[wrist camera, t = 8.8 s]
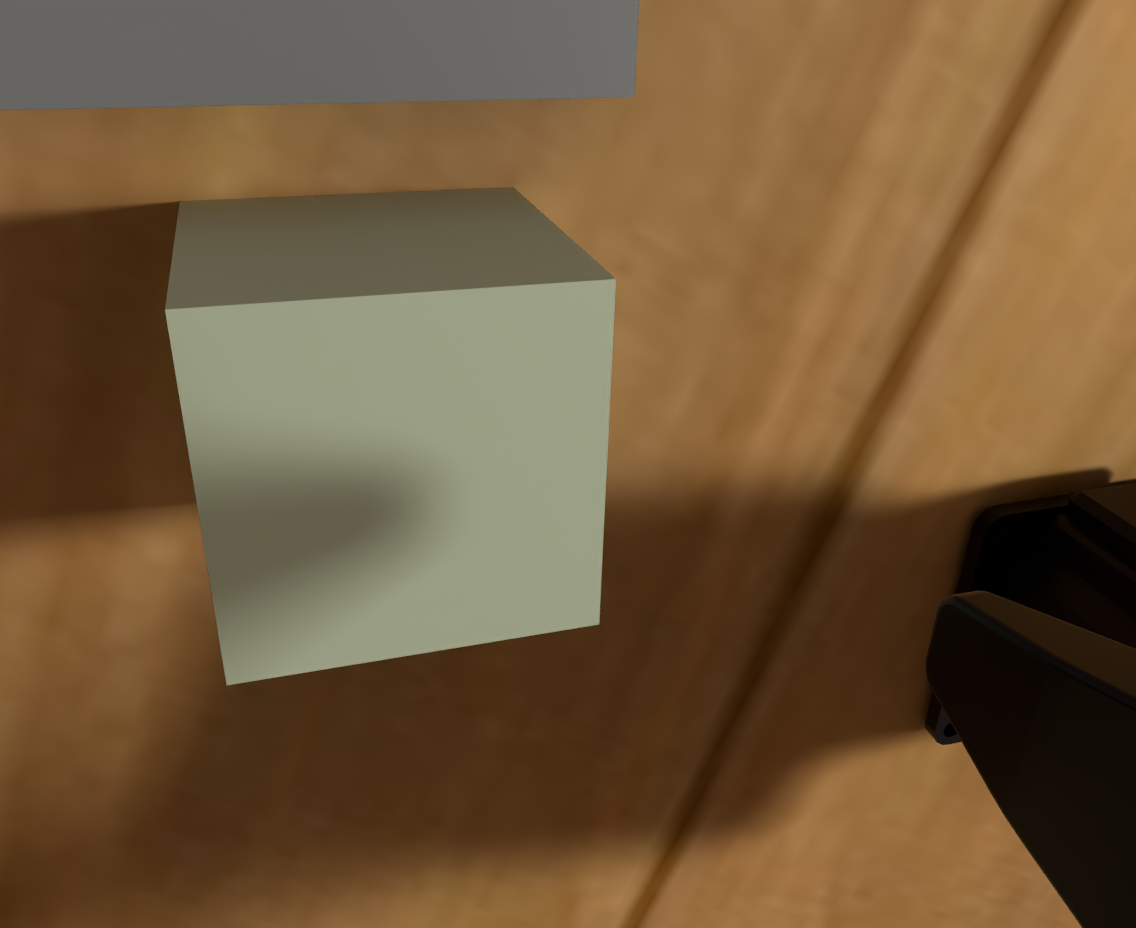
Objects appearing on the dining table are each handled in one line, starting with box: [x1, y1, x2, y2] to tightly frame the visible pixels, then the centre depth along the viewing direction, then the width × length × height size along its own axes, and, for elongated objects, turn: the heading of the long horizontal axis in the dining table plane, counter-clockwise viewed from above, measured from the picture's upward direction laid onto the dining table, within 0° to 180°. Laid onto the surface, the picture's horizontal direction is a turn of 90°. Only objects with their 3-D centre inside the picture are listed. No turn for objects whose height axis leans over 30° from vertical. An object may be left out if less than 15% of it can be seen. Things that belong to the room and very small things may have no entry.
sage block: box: [165, 188, 616, 685], centre depth 15 cm, size 5×5×5 cm
